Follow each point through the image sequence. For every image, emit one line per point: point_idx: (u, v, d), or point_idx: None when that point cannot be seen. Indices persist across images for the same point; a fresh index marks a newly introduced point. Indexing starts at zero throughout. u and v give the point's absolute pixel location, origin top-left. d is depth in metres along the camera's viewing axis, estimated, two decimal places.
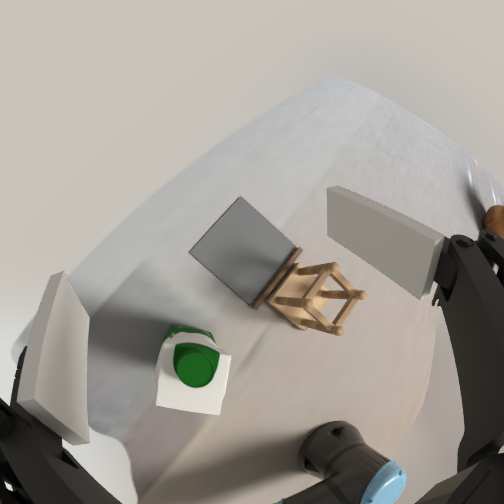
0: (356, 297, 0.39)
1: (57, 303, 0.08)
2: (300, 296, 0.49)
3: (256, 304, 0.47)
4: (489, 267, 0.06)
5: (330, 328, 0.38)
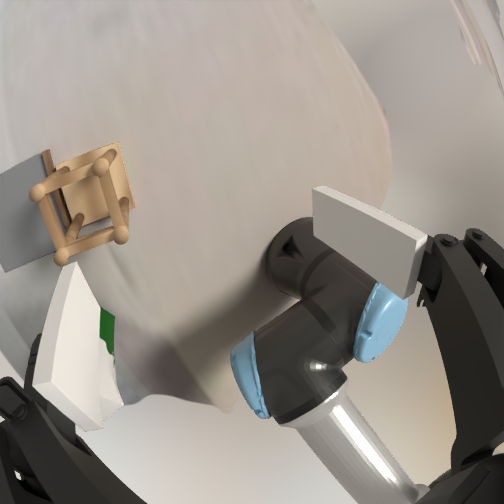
0: None
1: (70, 292, 0.08)
2: (91, 188, 0.30)
3: None
4: (475, 265, 0.07)
5: (114, 237, 0.23)
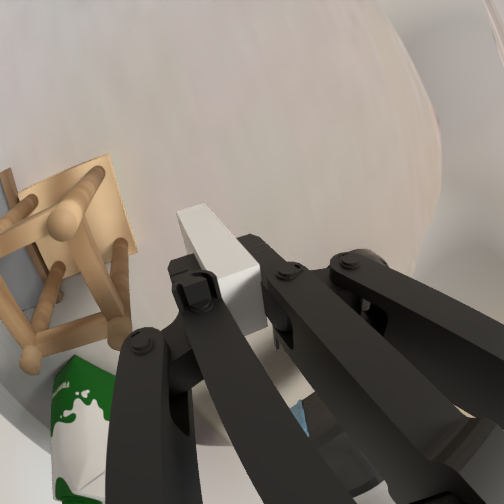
0: None
1: None
2: None
3: None
4: (334, 294, 0.07)
5: None
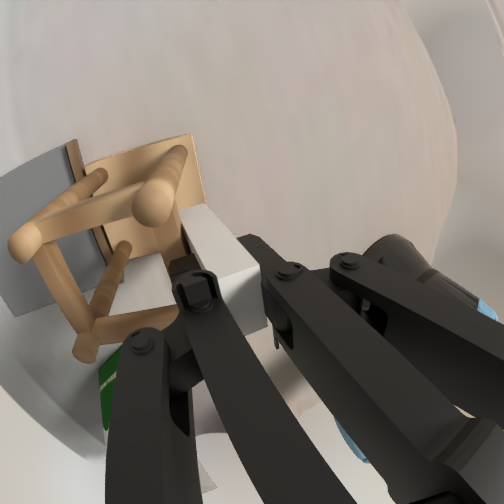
0: None
1: None
2: None
3: None
4: (334, 295, 0.07)
5: None
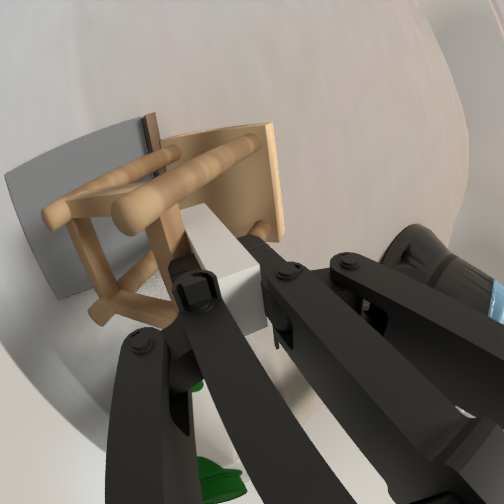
0: None
1: None
2: (212, 190, 0.21)
3: None
4: (334, 295, 0.07)
5: None
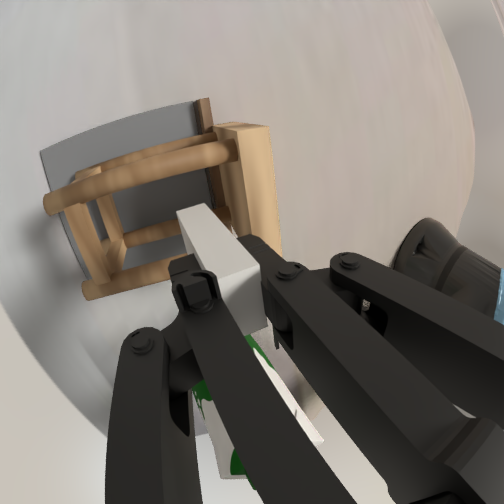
0: None
1: None
2: (230, 188, 0.20)
3: None
4: (334, 294, 0.07)
5: None
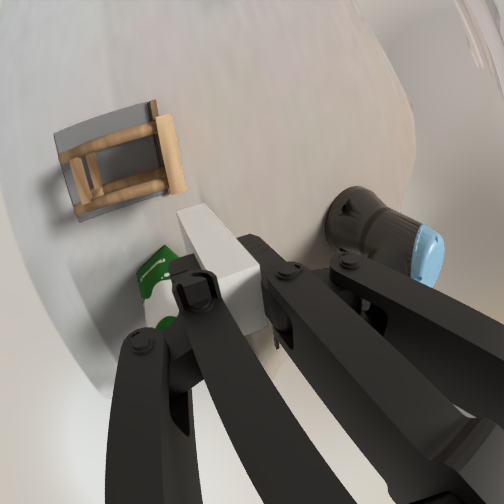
0: None
1: None
2: None
3: (169, 189, 0.37)
4: (334, 295, 0.07)
5: None
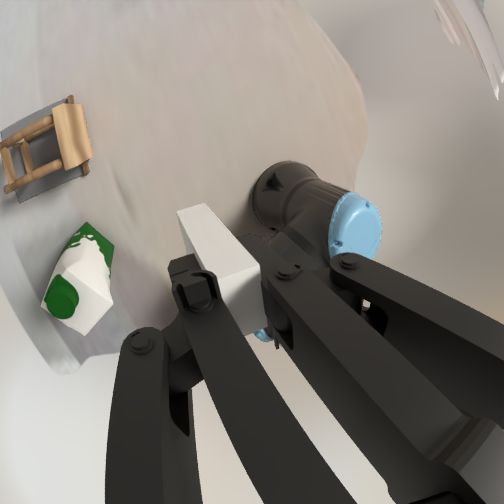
0: None
1: None
2: None
3: (84, 170, 0.37)
4: (334, 295, 0.07)
5: None
